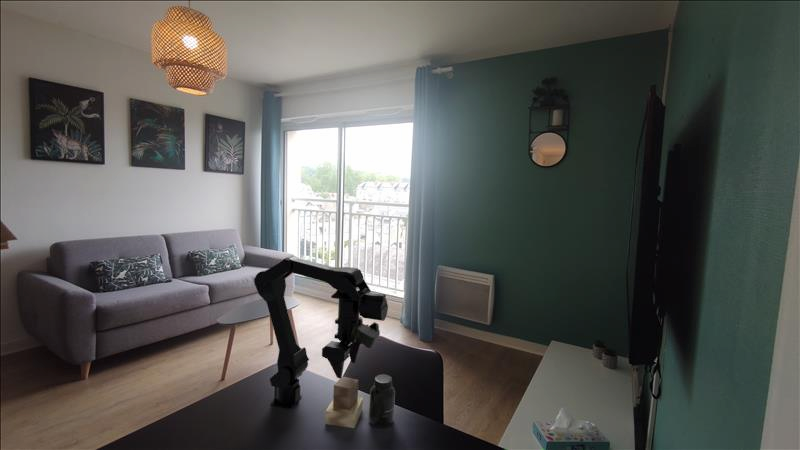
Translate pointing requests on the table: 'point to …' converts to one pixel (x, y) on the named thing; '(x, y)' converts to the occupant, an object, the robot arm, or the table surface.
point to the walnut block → (345, 393)
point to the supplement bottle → (382, 401)
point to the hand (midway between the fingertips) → (346, 370)
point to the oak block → (344, 415)
